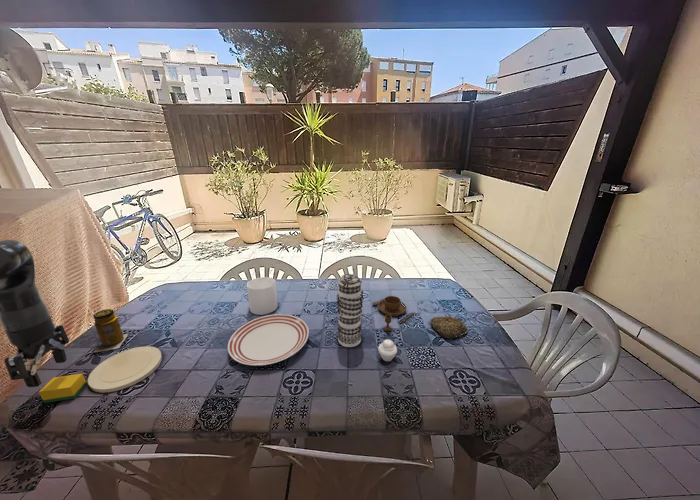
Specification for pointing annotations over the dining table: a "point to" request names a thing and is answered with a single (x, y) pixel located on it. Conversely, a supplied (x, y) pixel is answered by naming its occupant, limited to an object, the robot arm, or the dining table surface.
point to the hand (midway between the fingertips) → (49, 373)
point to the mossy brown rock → (448, 326)
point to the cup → (262, 295)
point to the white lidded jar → (387, 350)
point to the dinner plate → (268, 339)
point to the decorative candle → (349, 310)
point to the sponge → (63, 388)
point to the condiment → (108, 330)
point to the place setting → (391, 309)
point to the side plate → (124, 369)
